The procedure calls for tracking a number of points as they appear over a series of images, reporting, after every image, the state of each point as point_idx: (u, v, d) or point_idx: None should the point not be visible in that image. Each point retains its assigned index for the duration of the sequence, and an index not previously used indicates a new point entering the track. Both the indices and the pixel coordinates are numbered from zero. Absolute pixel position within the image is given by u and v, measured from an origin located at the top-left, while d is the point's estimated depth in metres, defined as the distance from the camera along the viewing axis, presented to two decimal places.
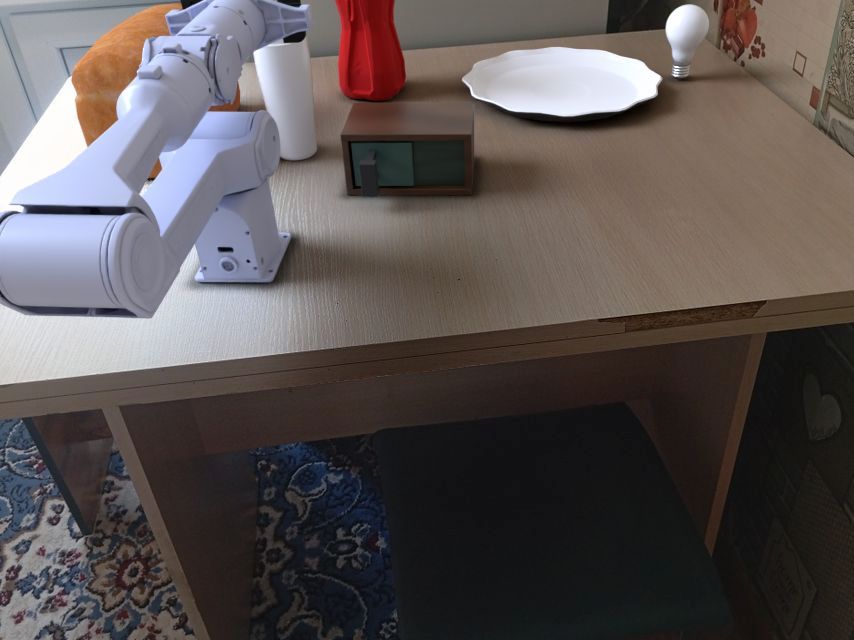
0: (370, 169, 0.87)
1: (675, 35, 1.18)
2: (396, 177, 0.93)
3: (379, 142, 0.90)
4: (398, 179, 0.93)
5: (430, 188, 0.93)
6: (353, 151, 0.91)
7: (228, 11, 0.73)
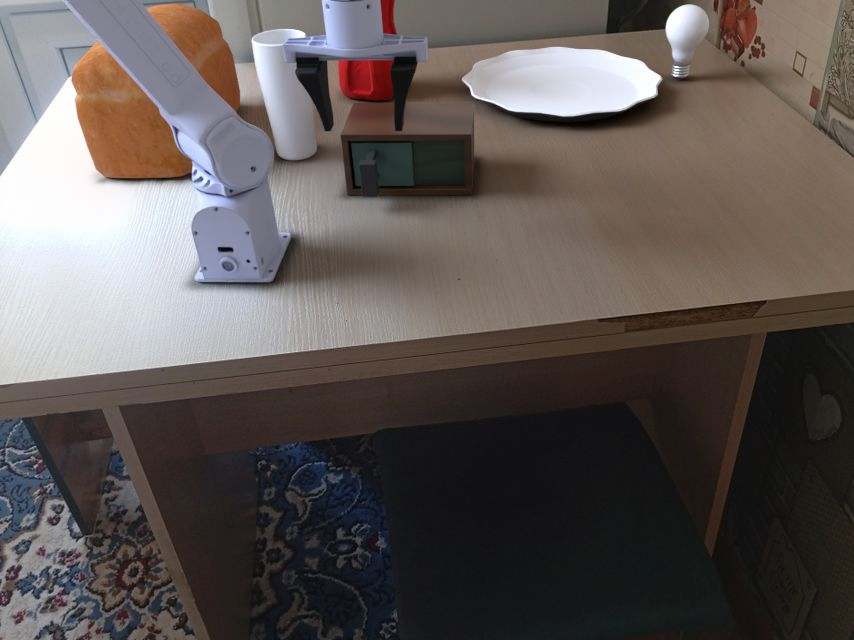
0: (370, 169, 0.87)
1: (675, 35, 1.18)
2: (396, 177, 0.93)
3: (379, 142, 0.90)
4: (398, 179, 0.93)
5: (430, 188, 0.93)
6: (353, 151, 0.91)
7: None
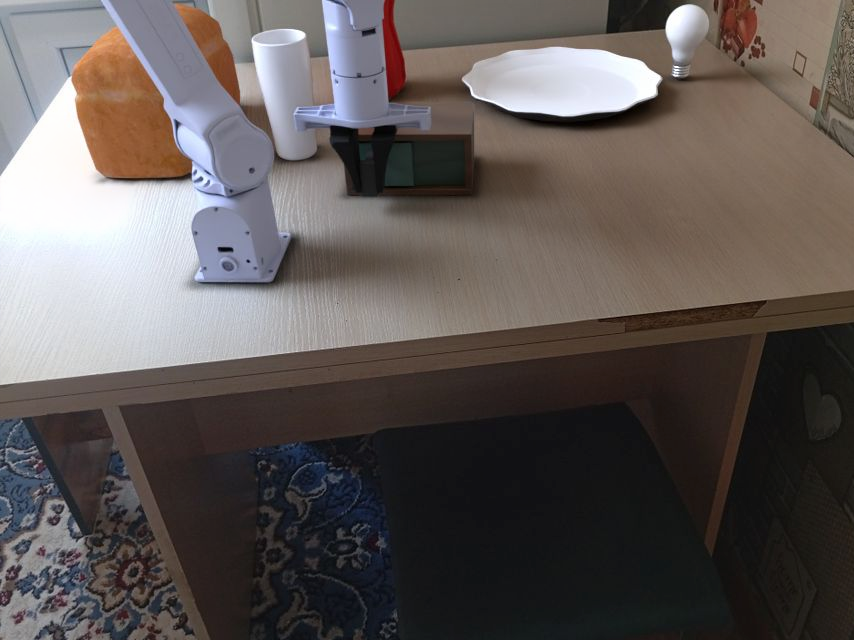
0: (370, 169, 0.87)
1: (675, 35, 1.18)
2: (396, 177, 0.93)
3: None
4: (398, 179, 0.93)
5: (430, 188, 0.93)
6: None
7: None
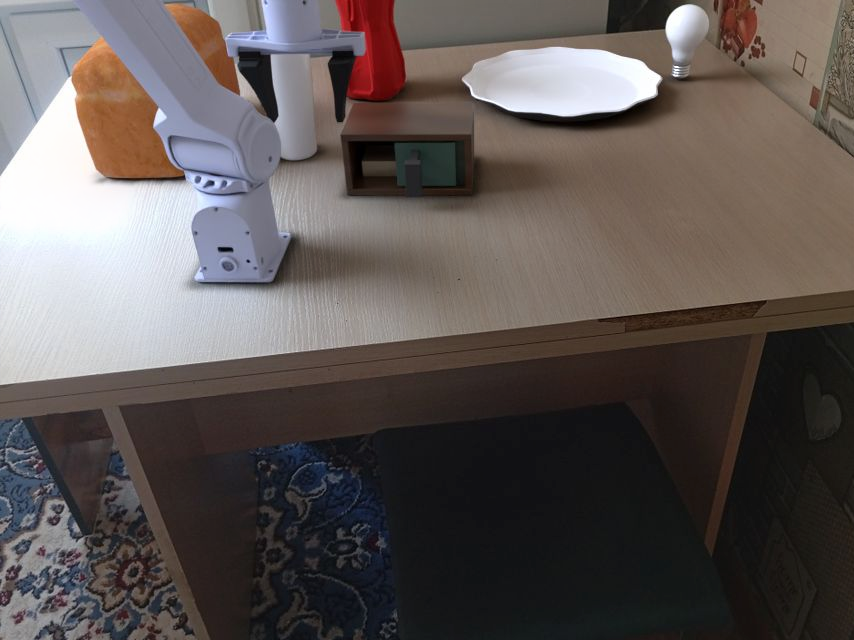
0: (415, 169, 0.87)
1: (675, 35, 1.18)
2: (439, 176, 0.93)
3: (423, 141, 0.90)
4: (440, 179, 0.93)
5: (430, 188, 0.93)
6: (396, 151, 0.91)
7: None
